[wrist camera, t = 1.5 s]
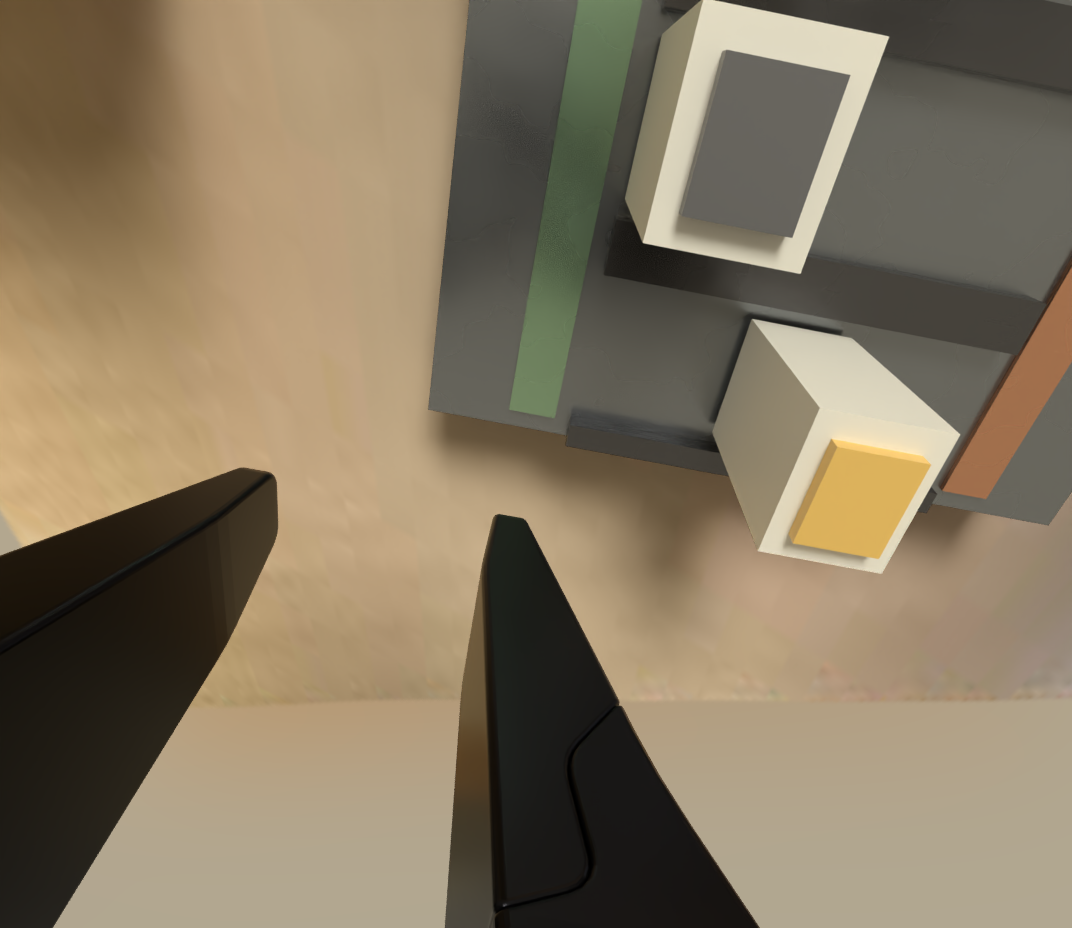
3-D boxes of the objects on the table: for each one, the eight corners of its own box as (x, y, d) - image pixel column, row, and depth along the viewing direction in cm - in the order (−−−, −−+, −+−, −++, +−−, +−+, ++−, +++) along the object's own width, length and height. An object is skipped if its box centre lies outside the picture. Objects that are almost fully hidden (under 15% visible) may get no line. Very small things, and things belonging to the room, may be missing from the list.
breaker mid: (783, 59, 12) (898, 34, 8) (733, 220, 14) (806, 278, 9) (661, 34, 12) (707, -6, 8) (624, 198, 14) (644, 247, 9)
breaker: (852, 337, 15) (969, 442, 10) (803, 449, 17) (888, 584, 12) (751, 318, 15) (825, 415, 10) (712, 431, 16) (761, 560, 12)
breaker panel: (1410, -187, 12) (1642, -267, 10) (997, 478, 20) (1062, 538, 17) (531, -383, 12) (514, -525, 9) (445, 374, 19) (423, 419, 16)
